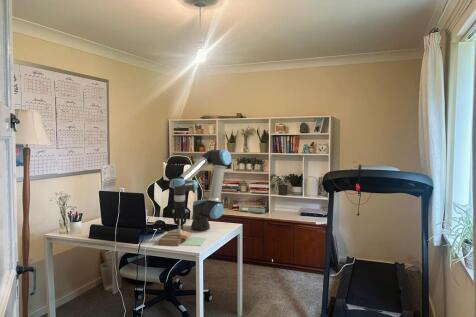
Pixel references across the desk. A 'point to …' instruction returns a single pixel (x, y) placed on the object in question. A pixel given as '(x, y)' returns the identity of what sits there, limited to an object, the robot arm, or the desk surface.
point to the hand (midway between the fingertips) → (180, 233)
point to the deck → (171, 239)
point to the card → (185, 234)
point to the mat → (194, 241)
